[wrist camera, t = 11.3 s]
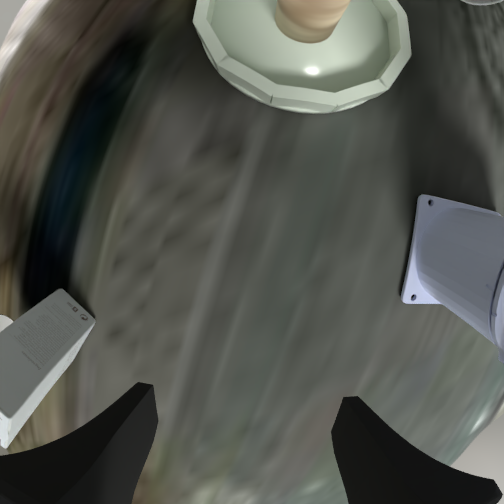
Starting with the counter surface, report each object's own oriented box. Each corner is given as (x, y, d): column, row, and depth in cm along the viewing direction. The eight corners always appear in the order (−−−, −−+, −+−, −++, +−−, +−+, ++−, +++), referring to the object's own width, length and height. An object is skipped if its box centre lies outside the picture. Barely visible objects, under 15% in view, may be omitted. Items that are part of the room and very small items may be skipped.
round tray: (387, -15, 14) (398, -30, 11) (396, 131, 17) (415, 126, 15) (215, -41, 14) (211, -60, 11) (188, 105, 17) (178, 94, 14)
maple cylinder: (334, 6, 14) (354, -32, 9) (332, 49, 15) (355, 13, 10) (278, -5, 14) (284, -47, 9) (271, 38, 15) (277, -3, 10)
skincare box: (60, 284, 20) (-45, 356, 8) (100, 321, 20) (10, 419, 9) (40, 331, 21) (-42, 404, 9) (76, 364, 21) (5, 452, 10)
